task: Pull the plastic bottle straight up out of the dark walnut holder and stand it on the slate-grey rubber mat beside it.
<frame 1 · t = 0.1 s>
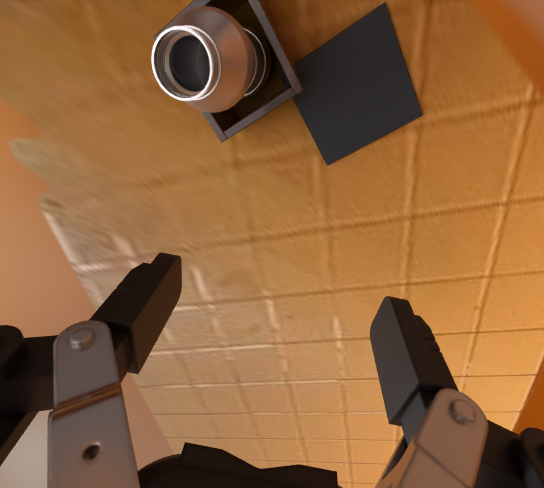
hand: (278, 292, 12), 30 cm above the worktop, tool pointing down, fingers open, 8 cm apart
holder: (245, 63, 34), on the worktop
mat: (351, 94, 34), on the worktop
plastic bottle: (245, 63, 34), resting in holder
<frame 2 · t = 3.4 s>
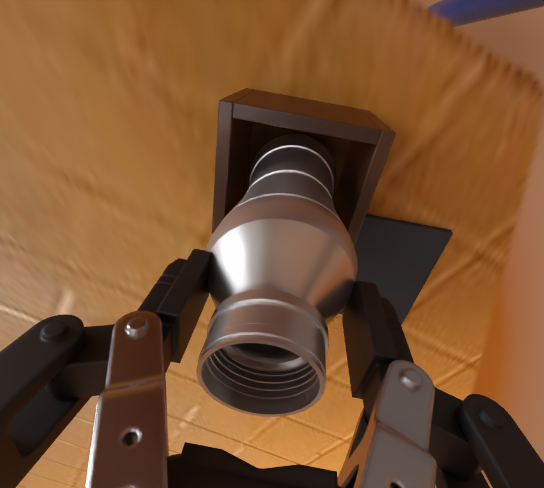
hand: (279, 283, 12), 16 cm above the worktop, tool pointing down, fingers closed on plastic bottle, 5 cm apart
holder: (294, 167, 25), on the worktop
mat: (364, 269, 30), on the worktop
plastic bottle: (294, 166, 25), resting in holder, touching gripper
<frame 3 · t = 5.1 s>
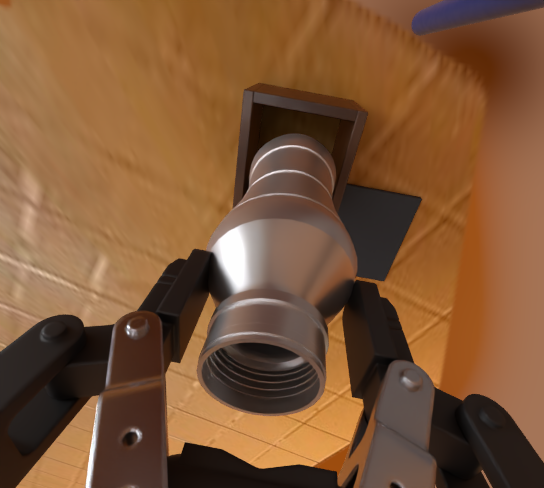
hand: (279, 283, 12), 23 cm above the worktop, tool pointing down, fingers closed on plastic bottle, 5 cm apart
holder: (295, 146, 32), on the worktop
mat: (352, 232, 37), on the worktop
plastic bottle: (294, 166, 25), point 8 cm above the worktop, touching gripper
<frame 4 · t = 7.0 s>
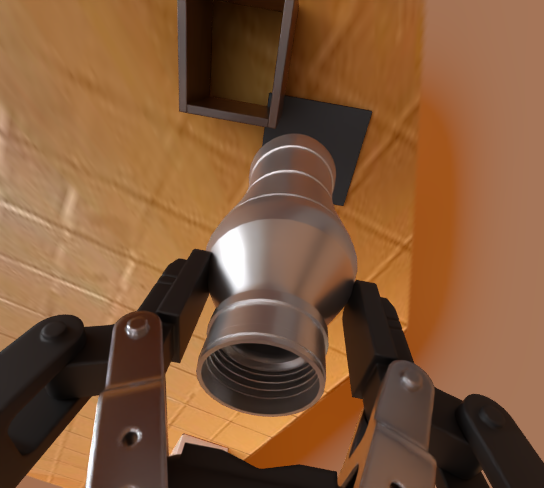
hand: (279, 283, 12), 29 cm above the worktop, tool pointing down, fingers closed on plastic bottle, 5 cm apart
holder: (247, 57, 33), on the worktop
mat: (309, 153, 38), on the worktop
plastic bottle: (294, 166, 25), point 13 cm above the worktop, touching gripper
gable box: (195, 455, 86), on the worktop
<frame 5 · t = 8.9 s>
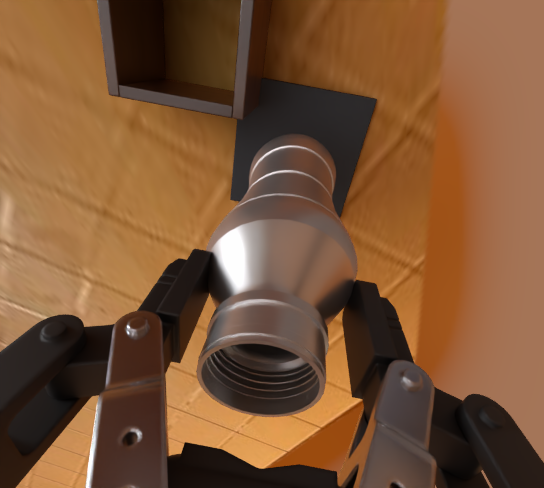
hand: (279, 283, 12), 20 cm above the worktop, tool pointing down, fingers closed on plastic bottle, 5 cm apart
holder: (210, 26, 25), on the worktop
mat: (295, 153, 29), on the worktop
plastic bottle: (294, 166, 25), point 5 cm above the worktop, touching gripper
when the fingers open (16 cm above the worktop, at t = 10.5 s): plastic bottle stays where it is, resting on mat.
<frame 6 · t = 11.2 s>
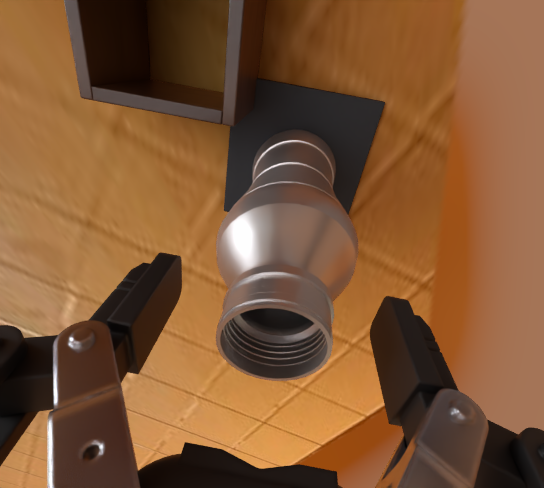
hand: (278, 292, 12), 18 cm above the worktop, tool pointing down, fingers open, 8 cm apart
holder: (199, 20, 22), on the worktop
mat: (294, 161, 27), on the worktop
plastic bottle: (295, 161, 26), resting on mat
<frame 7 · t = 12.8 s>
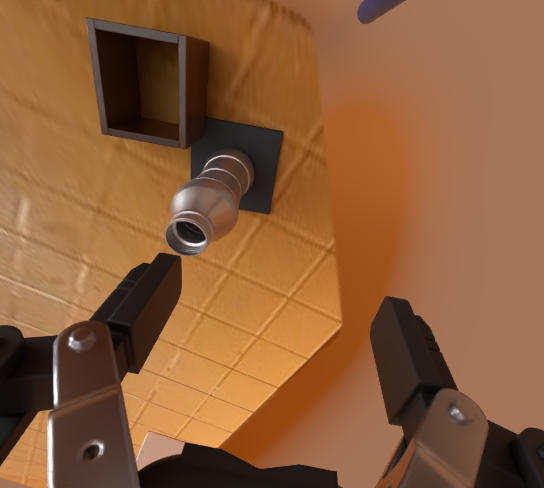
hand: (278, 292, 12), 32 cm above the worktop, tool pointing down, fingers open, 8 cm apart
holder: (169, 85, 37), on the worktop
mat: (233, 167, 42), on the worktop
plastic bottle: (233, 167, 42), resting on mat
gable box: (162, 452, 89), on the worktop
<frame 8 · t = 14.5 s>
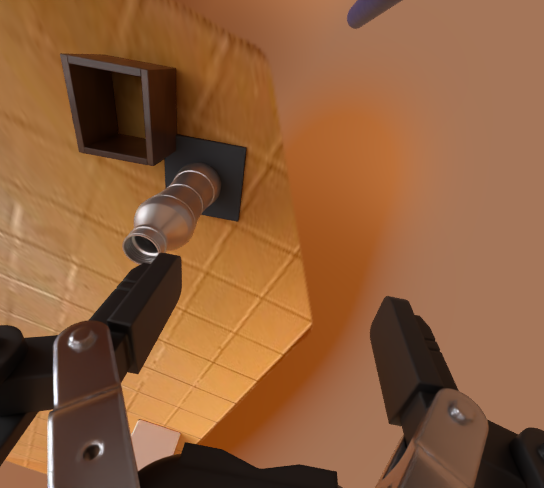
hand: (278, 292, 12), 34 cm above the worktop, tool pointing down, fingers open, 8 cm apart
holder: (142, 105, 41), on the worktop
mat: (204, 179, 46), on the worktop
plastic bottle: (203, 179, 45), resting on mat
gable box: (153, 439, 94), on the worktop
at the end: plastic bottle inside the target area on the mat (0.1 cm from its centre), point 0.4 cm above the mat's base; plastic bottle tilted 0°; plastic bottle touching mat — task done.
